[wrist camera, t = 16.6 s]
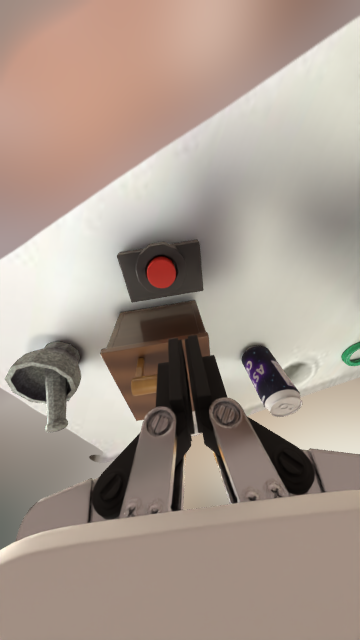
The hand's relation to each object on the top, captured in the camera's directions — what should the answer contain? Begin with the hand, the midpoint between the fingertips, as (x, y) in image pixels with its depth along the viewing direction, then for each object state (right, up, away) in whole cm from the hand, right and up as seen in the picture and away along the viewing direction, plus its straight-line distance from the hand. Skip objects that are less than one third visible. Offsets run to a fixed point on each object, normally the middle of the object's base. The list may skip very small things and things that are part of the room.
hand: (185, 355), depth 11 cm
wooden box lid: (-2, -7, +15) cm, 17 cm away
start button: (-3, +9, +14) cm, 16 cm away
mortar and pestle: (-22, -5, +24) cm, 33 cm away
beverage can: (+15, -5, +27) cm, 31 cm away
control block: (-3, +9, +17) cm, 19 cm away
